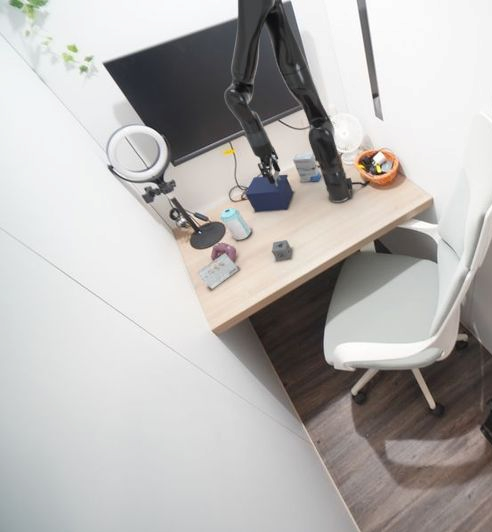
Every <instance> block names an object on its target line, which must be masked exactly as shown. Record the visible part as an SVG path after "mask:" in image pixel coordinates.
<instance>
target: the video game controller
mask: <svg viewBox="0 0 492 532" xmlns="http://www.w3.org/2000/svg"><path fill="white" fill-rule="evenodd" d="M224 253H226V254H227V256H228V257H229V258H230V260H231V261H232V262H233V263H234V262H235V260H236V254H237V249H236V247H235V246H234V245H231V244H228V243H226V242H217V243H215V244H214V245H213V246H212V251H211V254H210V258H211V260H212V261H214V260H215V259H217V258H218V257H219V256H221V255H223V254H224Z"/></svg>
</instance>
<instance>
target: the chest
mask: <svg viewBox="0 0 492 532" xmlns="http://www.w3.org/2000/svg"><path fill="white" fill-rule="evenodd" d="M293 195H294V191H293V188H292V185H291V184H290V182H289V180H288V178H287V179H286V182H285V184H284V187H283V189H282V192H281V193H271V194H260V195H248V196H246V198H247V200H248V202H249V203H250V205H251V207H252V209H253V211H254V212H255V213H260V212H272V211H284V210H288V208H289V206H290V203H291V201H292V198H293Z"/></svg>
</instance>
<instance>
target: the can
mask: <svg viewBox="0 0 492 532" xmlns="http://www.w3.org/2000/svg"><path fill="white" fill-rule="evenodd" d="M220 220H221V222H222V223H223V224H224V226H225V227H226V229H227V230H228V231H229V233H230V234H231V236H232V237H233V239H234V240H237V241H238V240H244V239H246V238H247V237H248V236H249V235H250V234H251V228H250V227H249V224H247V222H246V220H245V219H244V217H243V215H242V214H241V212H240V211H239V210H238V209H236V208H235V207H227V208H225V209H223V210H222V212H220Z"/></svg>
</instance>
